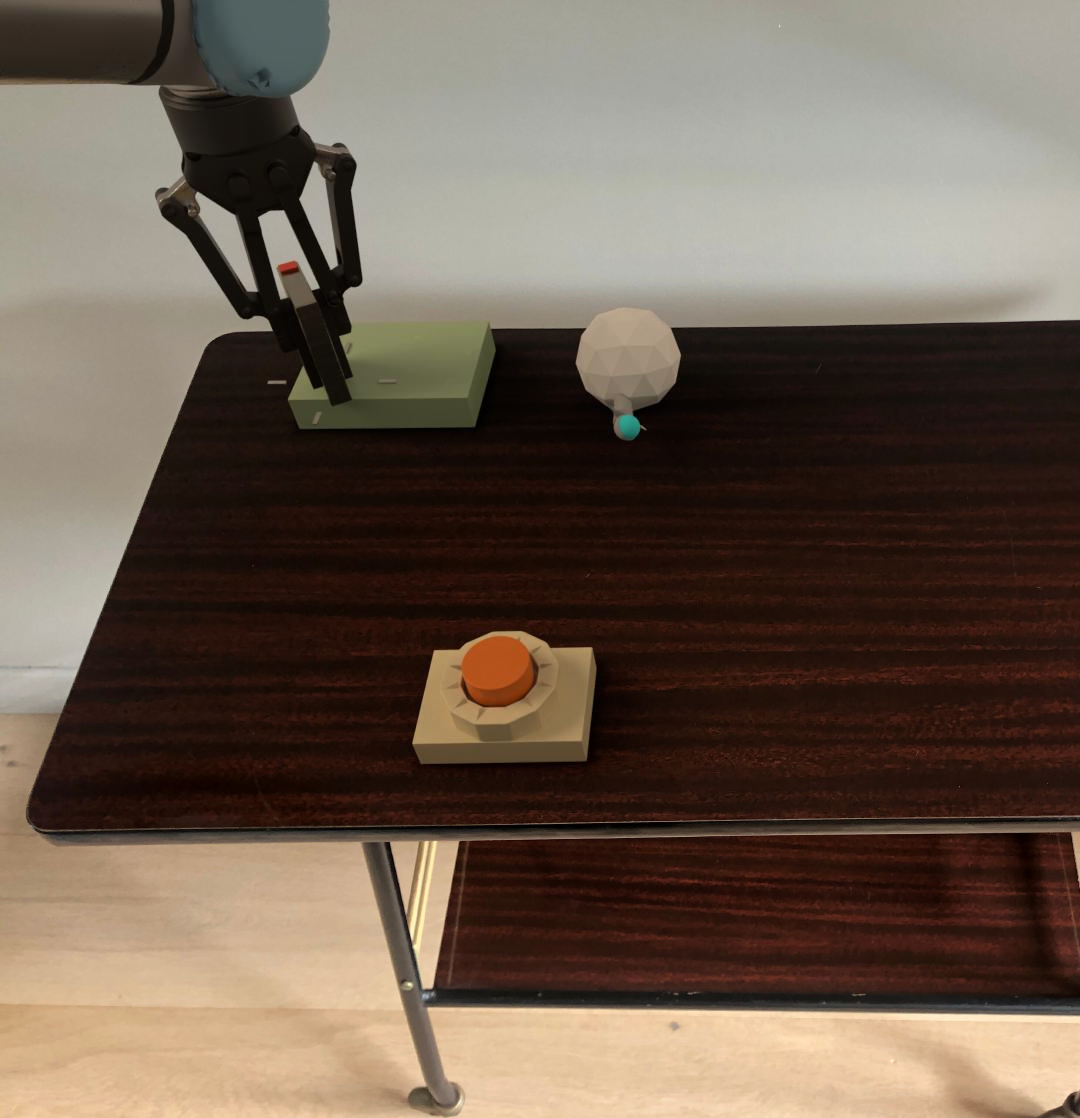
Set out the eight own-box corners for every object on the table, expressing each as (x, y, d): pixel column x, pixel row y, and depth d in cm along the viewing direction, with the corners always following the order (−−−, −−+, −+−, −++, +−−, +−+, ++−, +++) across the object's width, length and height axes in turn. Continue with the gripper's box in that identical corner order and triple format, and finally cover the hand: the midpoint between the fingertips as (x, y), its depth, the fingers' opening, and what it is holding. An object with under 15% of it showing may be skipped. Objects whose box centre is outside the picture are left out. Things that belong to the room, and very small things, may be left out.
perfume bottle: (697, 324, 92) (708, 434, 85) (621, 373, 95) (625, 483, 88) (632, 267, 86) (639, 379, 79) (554, 321, 90) (554, 433, 83)
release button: (462, 707, 66) (455, 690, 65) (473, 654, 69) (467, 636, 68) (529, 706, 66) (524, 689, 65) (538, 652, 69) (533, 634, 68)
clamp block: (261, 455, 88) (247, 424, 85) (308, 352, 96) (296, 322, 94) (467, 453, 87) (459, 422, 85) (495, 350, 96) (488, 319, 94)
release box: (420, 764, 68) (404, 726, 65) (441, 671, 73) (427, 631, 70) (586, 761, 68) (577, 723, 65) (596, 668, 73) (588, 628, 70)
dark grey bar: (352, 400, 87) (316, 298, 80) (331, 407, 87) (293, 305, 80) (332, 359, 91) (296, 258, 84) (313, 365, 90) (274, 264, 83)
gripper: (319, 25, 75) (407, 321, 93) (86, 77, 71) (223, 377, 88) (349, 67, 71) (435, 370, 88) (101, 125, 66) (243, 432, 83)
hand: (329, 373), depth 88 cm, fingers closed on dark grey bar, 2 cm apart
